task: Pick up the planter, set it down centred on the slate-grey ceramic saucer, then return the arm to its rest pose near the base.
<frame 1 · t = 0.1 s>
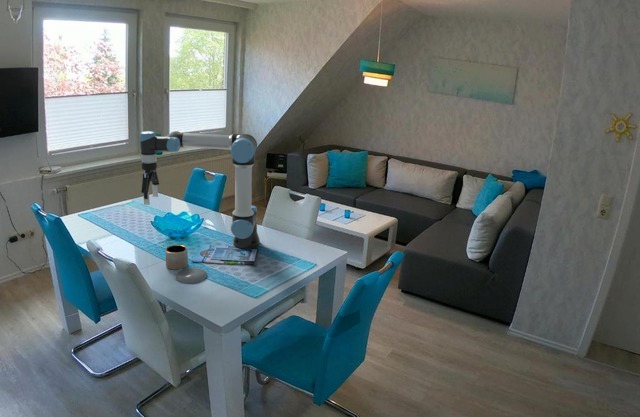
hand: (151, 200, 267), 28 cm above the table, fingers open, 13 cm apart
planter: (177, 266, 258), on the table
saucer: (191, 276, 247), on the table
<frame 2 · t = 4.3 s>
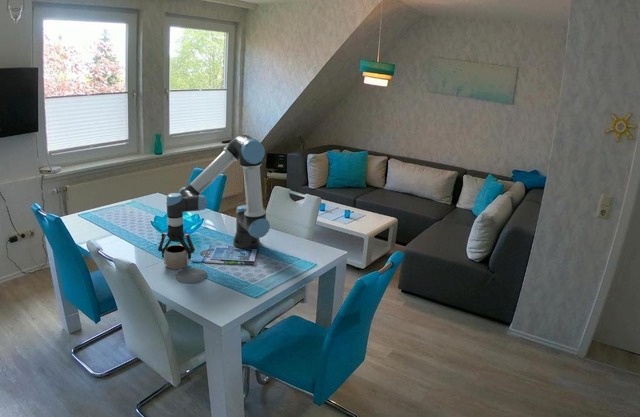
hand: (177, 263, 257), 1 cm above the table, fingers closed on planter, 11 cm apart
planter: (177, 266, 258), on the table, touching gripper
when the fingers open (3 cm above the table, at t = 10.1 s): planter drops 1 cm, resting on saucer.
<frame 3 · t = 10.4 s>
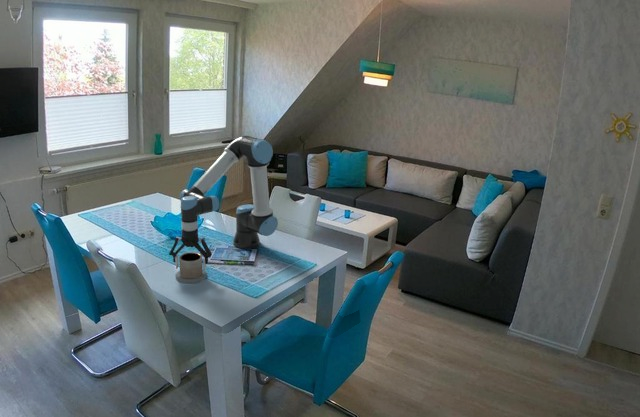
hand: (191, 268, 246), 4 cm above the table, fingers open, 13 cm apart
planter: (191, 274, 247), point 1 cm above the table, touching saucer
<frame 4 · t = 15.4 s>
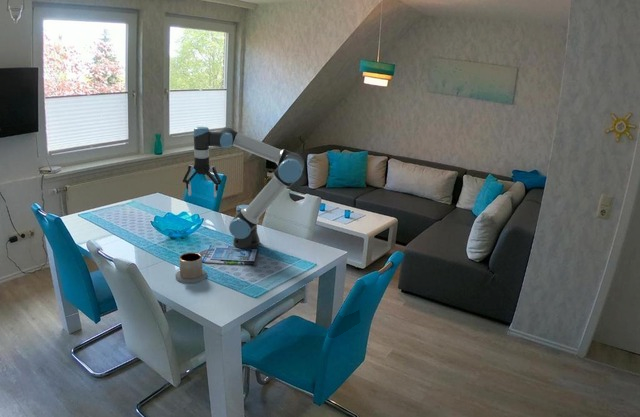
hand: (202, 195, 267), 32 cm above the table, fingers open, 13 cm apart
nothing on the table moved.
at the end: planter 0.0 cm from the saucer (horizontally); planter tilted 0°; the gripper is holding nothing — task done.
